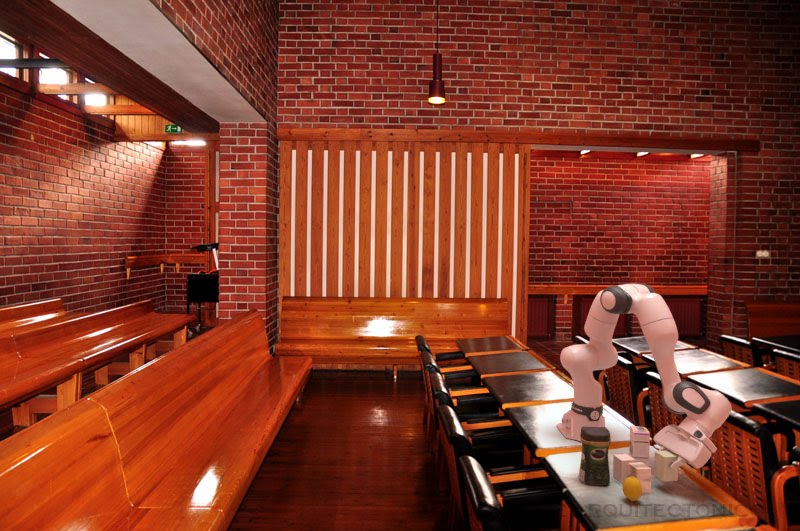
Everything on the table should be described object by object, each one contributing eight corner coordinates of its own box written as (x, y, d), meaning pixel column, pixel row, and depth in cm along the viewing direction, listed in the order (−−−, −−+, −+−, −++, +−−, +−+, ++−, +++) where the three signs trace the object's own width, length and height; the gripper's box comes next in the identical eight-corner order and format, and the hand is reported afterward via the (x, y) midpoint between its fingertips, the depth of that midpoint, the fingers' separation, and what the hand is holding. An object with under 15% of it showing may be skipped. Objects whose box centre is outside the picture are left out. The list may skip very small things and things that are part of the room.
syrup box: (649, 472, 188) (651, 432, 187) (631, 470, 189) (633, 430, 189) (645, 465, 194) (646, 426, 193) (628, 464, 195) (629, 425, 194)
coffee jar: (604, 476, 184) (606, 423, 183) (612, 487, 176) (614, 432, 175) (576, 475, 185) (577, 422, 184) (582, 486, 177) (584, 430, 176)
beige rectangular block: (653, 474, 178) (654, 451, 177) (667, 473, 178) (668, 450, 178) (663, 481, 173) (664, 457, 172) (677, 480, 173) (678, 456, 173)
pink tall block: (627, 486, 177) (628, 463, 177) (641, 485, 178) (641, 462, 177) (636, 493, 172) (637, 469, 172) (650, 492, 173) (651, 468, 173)
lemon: (625, 495, 171) (626, 471, 170) (643, 501, 167) (644, 476, 167) (619, 501, 166) (620, 476, 166) (638, 507, 163) (639, 482, 163)
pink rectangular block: (612, 477, 184) (613, 454, 183) (626, 476, 185) (626, 454, 184) (621, 484, 179) (621, 460, 178) (634, 483, 180) (635, 459, 179)
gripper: (665, 416, 186) (639, 445, 185) (709, 438, 166) (679, 470, 165) (676, 428, 187) (650, 457, 186) (721, 451, 167) (691, 484, 166)
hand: (664, 463), depth 175 cm, fingers closed on beige rectangular block, 5 cm apart
